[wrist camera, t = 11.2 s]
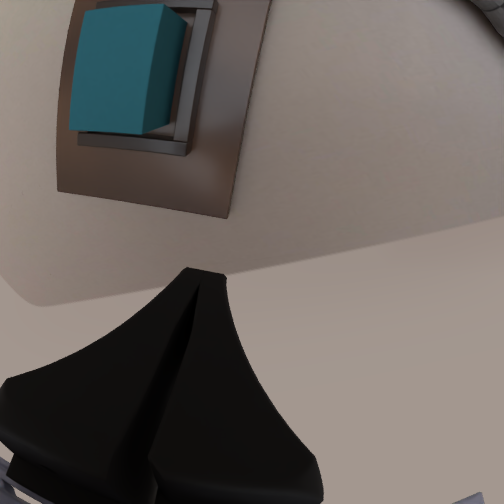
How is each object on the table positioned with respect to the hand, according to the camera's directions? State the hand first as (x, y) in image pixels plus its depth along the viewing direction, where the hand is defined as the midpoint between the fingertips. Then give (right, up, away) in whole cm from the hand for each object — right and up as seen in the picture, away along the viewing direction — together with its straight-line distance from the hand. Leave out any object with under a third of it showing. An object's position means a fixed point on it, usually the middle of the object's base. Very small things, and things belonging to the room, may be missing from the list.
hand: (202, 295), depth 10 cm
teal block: (-4, +11, +4) cm, 12 cm away
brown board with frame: (-4, +12, +4) cm, 13 cm away
